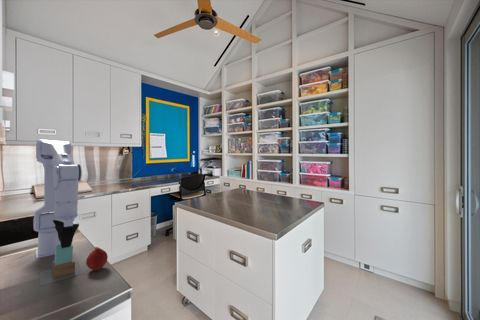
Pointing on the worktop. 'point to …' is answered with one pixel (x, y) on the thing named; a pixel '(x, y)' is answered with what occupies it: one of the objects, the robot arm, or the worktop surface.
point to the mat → (48, 278)
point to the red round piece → (96, 259)
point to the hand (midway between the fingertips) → (64, 243)
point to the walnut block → (63, 268)
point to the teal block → (63, 254)
